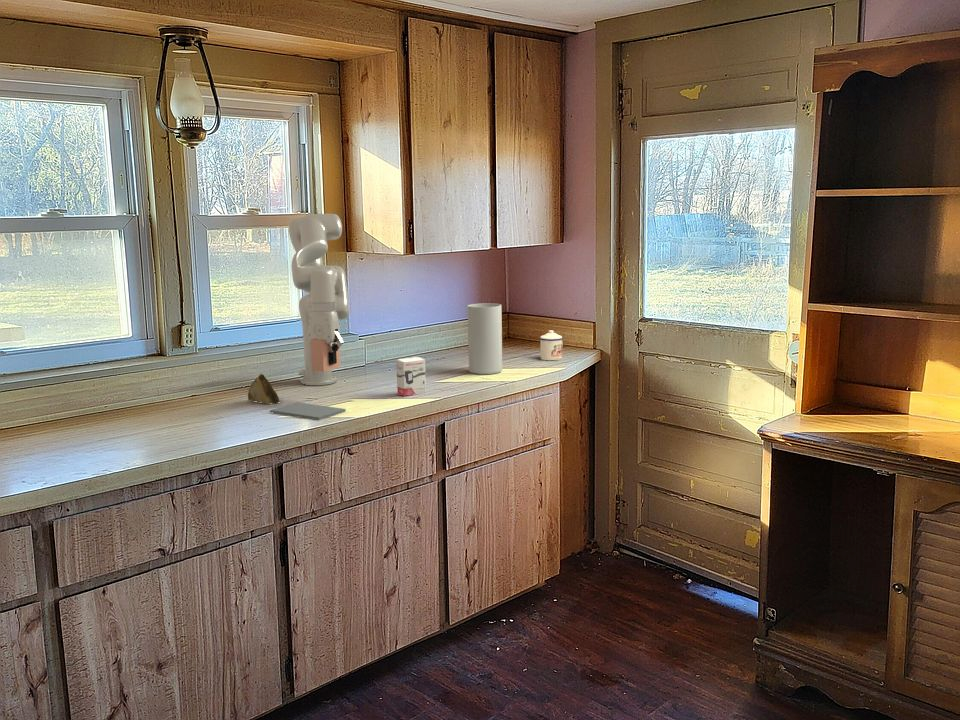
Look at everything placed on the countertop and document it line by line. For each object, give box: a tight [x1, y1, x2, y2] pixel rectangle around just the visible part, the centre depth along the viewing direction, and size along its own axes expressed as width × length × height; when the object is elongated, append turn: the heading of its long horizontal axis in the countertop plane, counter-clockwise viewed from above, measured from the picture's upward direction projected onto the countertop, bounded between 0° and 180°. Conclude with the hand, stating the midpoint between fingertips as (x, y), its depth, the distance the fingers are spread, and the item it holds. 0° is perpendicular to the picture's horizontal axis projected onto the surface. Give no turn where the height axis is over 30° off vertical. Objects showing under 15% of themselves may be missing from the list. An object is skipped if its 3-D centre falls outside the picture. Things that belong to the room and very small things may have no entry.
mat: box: [269, 401, 347, 421], centre depth 265 cm, size 20×12×1 cm, turn 58°
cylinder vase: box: [467, 302, 503, 375], centre depth 322 cm, size 12×12×25 cm
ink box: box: [395, 356, 427, 397], centre depth 287 cm, size 8×5×12 cm, turn 123°
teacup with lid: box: [539, 329, 564, 361], centre depth 348 cm, size 12×9×12 cm
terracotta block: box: [311, 339, 341, 372], centre depth 279 cm, size 5×8×10 cm, turn 148°
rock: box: [247, 373, 281, 405], centre depth 280 cm, size 11×9×10 cm
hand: (326, 362), depth 280 cm, fingers closed on terracotta block, 5 cm apart
